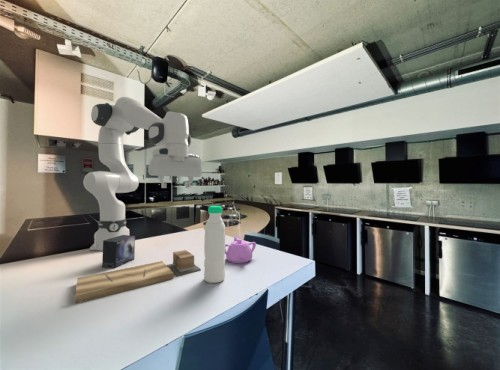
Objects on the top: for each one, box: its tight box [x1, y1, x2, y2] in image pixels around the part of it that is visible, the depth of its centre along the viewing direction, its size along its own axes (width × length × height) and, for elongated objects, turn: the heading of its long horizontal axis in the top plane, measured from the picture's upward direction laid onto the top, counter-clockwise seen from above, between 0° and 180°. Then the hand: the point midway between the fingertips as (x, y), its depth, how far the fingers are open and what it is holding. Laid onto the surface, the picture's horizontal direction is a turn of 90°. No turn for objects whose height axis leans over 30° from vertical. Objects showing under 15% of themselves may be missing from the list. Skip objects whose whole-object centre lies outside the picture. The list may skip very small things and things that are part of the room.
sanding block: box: [172, 249, 195, 272], centre depth 82 cm, size 9×5×5 cm, turn 38°
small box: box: [101, 234, 136, 269], centre depth 87 cm, size 11×6×10 cm, turn 168°
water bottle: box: [203, 205, 226, 284], centre depth 72 cm, size 7×7×25 cm
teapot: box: [225, 235, 257, 264], centre depth 92 cm, size 12×14×9 cm
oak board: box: [74, 260, 175, 304], centre depth 70 cm, size 14×26×2 cm, turn 128°
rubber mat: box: [166, 263, 202, 277], centre depth 82 cm, size 12×9×1 cm
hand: (176, 187), depth 83 cm, fingers open, 8 cm apart
